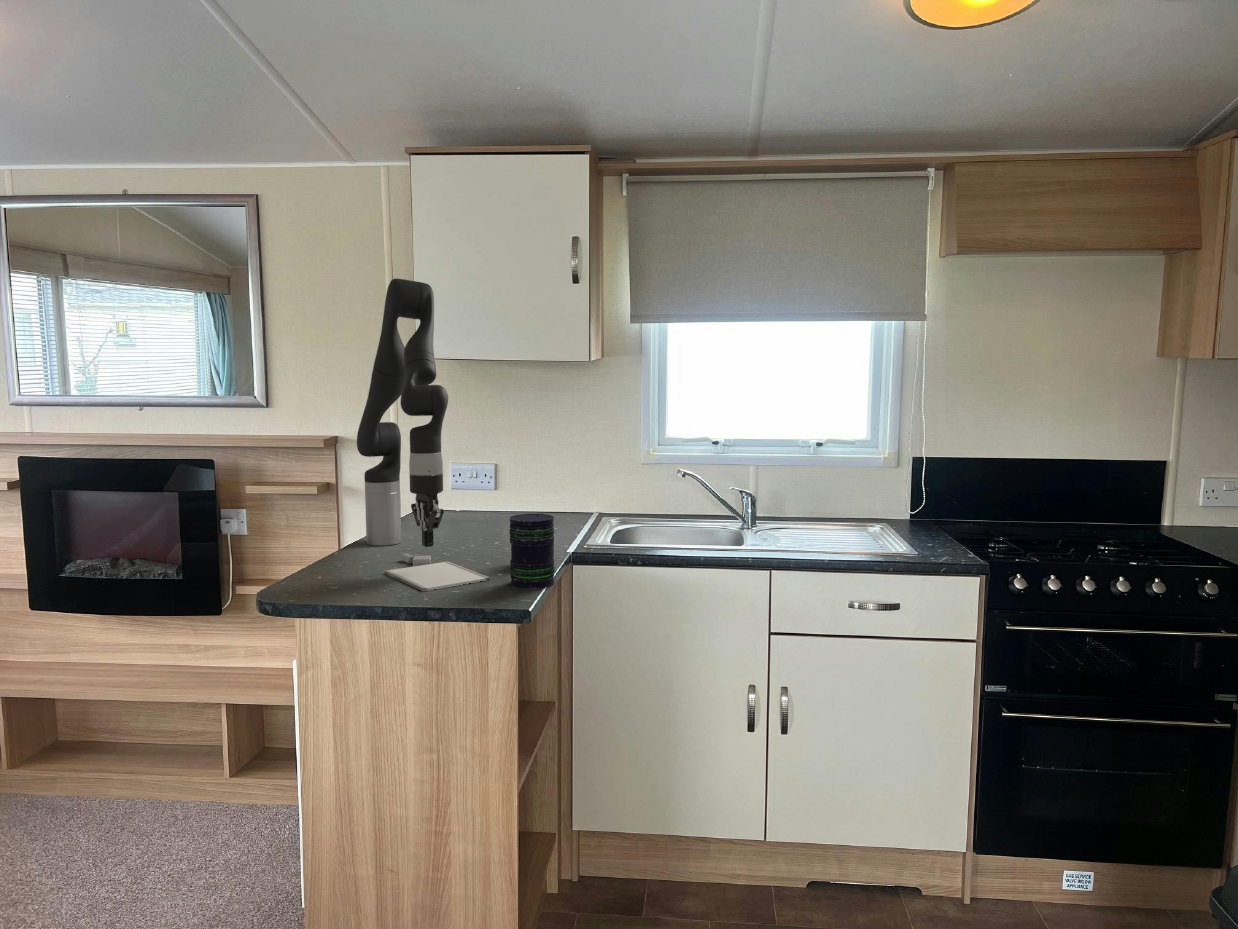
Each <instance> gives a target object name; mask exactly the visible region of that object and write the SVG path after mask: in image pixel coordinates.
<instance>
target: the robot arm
mask: <svg viewBox="0 0 1238 929" xmlns="http://www.w3.org/2000/svg"><path fill="white" fill-rule="evenodd" d="M434 295H435V294H434V291H433V287H432V286H431V285H430V284H428V283H426V282H422V281H421V282H420V281H416V280H410V279H404V278H403V279H402V278H393V279H391V280H390V282H389V284H388V287H387V289H386V294H385V301H384V308H383V316H382V317H383V318H382V323H381V324H382V325H381V331H380V336H379V340H378V346H377V350H376V354H375V357H374V362H373V368H372V370H371V371H372V372H371V376H370V377H371V379H370V382H369V383H370V384H369V388H368V394H367V399H366V402H365V403H366V404H365V407H364V410H363V412H362V416H361V419H360V423H359V426H358V428H357V429H358V430H357V434H356V447H357V451H358V453H359V454H360V455H361V456H363V457H366V458H367V457H368V458H371V457H372V458H373V457H374V458H375V457H382V460H381V461H380V462H379V463H378V464H377V465H375V466H373V467H371V468H368V469H367V470H366V471H365V472H364V499H365V500H364V502H365V528H366V529H365V536H366V537H365V538H366V540H365V541H366V544H367V545H370V546H380V547H383V546H391V545H397V544H400V543H402V530H401V529H402V525H401V522H402V521H401V519H402V518H401V517H402V516H401V486H400V473H401V458H402V457H401V455H402V454H401V451H402V435H401V434H402V433H401V430H400V427H399V425H398V424H397V423H396V422H392V421H388V422H387V421H385V422H381V420H382V418H383V416H384V415H385V413H386V412H387V411H388V410H389V409H390V408H391V407H392V405H393V404H394V403H396V402H397V400H398V399H399V398H400V408H401V410H402V411H403V413H404V414H406V415H407V416H411V417H424V416H425V417H426V416H427V417H429V416H431V419H430V421H429V422H428V423H426V424H423V425H419V426H415V427H412V428H411V429H410V431H409V461H408V463H409V464H408V465H409V466H408V467H409V468H408V472H409V475H408V476H409V492H410V493H411V494H413V495H415V503H411V505H410V508H411V510H412V515H413V518H414V520H415V523H416V526H417V527H419V530H421V545H422V546H423V547H426V548H428V547H433V546H434V541H435V540H434V531H435V530H436V529H439V528H440V527H439V526H440V524H441V521H442V519H443V516H444V513H445V512H444V509H443V508H440V507H439V503H440V502H439V498H438V494H440V493H442V492H444V468H443V467H444V466H443V465H444V463H443V456H442V430H443V423H444V419H445V415H446V411H447V408H448V404H449V395H448V392H447V390H446V388H445V387H444V386H442V385H440V384H432V383H434V382H435V380H436V378H437V368H436V367H437V366H436V360H435V354H434V353H435V352H434V351H435V350H434V333H435V331H434V330H435V296H434ZM399 318H405V319H410V320H411V319H412V320H419V326H418V327H417V329H416V331H415V332H414V333H413V334H412V336H411V337H410V338H409V340H408V341H407V342H406V344H404V343H403V340H402V338H401V335H400V332H399V329H398V319H399Z"/></svg>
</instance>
